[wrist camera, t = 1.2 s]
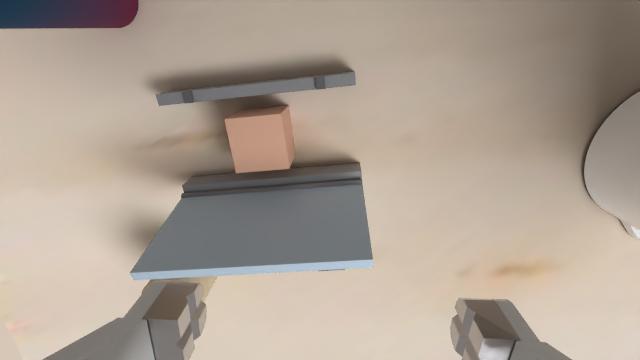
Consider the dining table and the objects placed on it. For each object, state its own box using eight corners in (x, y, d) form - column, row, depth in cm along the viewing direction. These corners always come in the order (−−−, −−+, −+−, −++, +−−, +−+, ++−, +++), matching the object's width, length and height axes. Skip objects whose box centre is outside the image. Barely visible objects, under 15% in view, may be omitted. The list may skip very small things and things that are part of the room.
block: (288, 105, 31) (281, 113, 27) (295, 153, 33) (289, 168, 29) (239, 110, 32) (224, 119, 28) (248, 157, 34) (235, 173, 30)
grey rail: (353, 71, 30) (355, 73, 27) (360, 171, 34) (361, 181, 31) (169, 91, 32) (154, 95, 29) (194, 185, 35) (183, 195, 33)
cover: (372, 256, 22) (373, 272, 23) (361, 178, 31) (362, 191, 32) (127, 270, 24) (136, 284, 25) (183, 192, 33) (188, 204, 33)
